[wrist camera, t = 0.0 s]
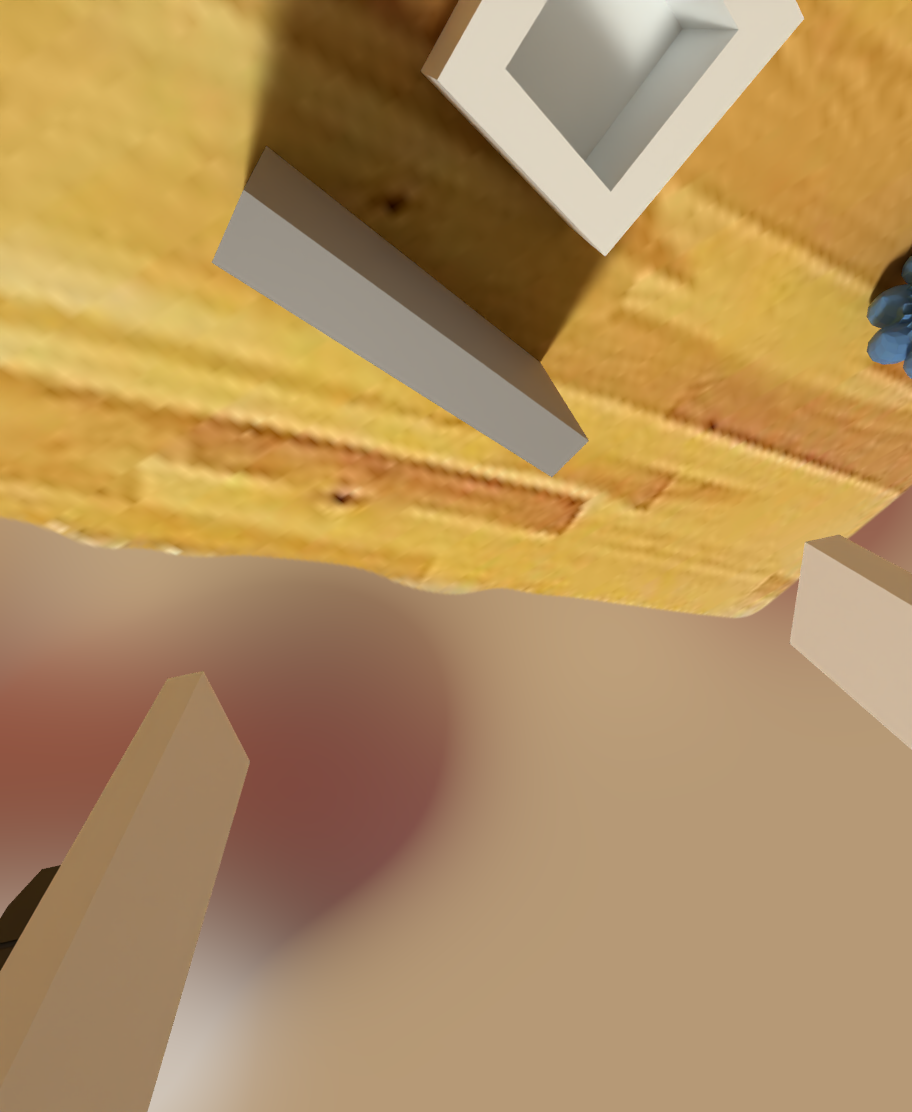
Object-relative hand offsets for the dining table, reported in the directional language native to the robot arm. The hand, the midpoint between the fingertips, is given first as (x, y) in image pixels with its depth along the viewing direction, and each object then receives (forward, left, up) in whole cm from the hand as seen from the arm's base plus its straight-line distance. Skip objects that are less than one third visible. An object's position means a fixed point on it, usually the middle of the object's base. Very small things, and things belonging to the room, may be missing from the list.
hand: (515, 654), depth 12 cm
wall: (+1, +2, -28) cm, 28 cm away
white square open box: (-13, +2, -28) cm, 31 cm away
